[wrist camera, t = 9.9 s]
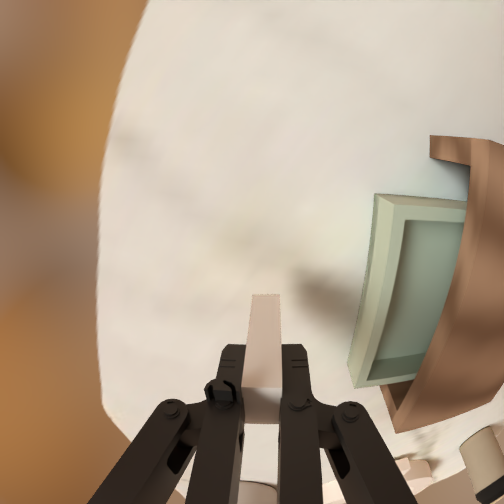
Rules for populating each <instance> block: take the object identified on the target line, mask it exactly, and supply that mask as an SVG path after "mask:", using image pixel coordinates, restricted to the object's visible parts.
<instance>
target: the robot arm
mask: <svg viewBox="0 0 504 504" xmlns="http://www.w3.org/2000/svg"><path fill="white" fill-rule="evenodd" d="M204 391H205V395H206V398H207V399H206V400H204V401H202V402H199V403H194V404H187V405H185V403H184V402H182V401H180V400H177V399H167V400H165V401H163V402H161V403H160V404H159V405H158V406H157V407H156V409H155V410H154V412H153V413H152V414H151V416H150V417H149V419H148V420H147V421H146V423H145V424H144V426H143V427H142V429H141V430H140V431H139V433H138V434H137V436H136V437H135V438H134V440H133V441H132V443H131V444H130V445H129V447H128V448H127V449H126V451H125V452H124V454H123V455H122V456H121V458H120V459H119V461H118V462H117V463H116V465H115V466H114V468H113V469H112V470H111V472H110V473H109V475H108V476H107V477H106V479H105V480H104V481H103V483H102V484H101V485H100V487H99V488H98V489H97V491H96V492H95V494H94V495H93V497H92V498H91V499H90V500H89V502H88V503H87V504H166V502H167V501H168V499H169V497H170V496H171V494H172V492H173V491H174V489H175V487H176V485H177V484H178V482H179V480H180V478H181V477H182V475H183V473H184V471H185V469H186V468H187V466H188V464H189V462H190V460H191V459H192V457H193V455H194V453H195V451H196V454H195V459H194V463H193V468H192V473H191V477H190V482H189V487H188V491H187V496H186V501H185V504H237V502H238V492H239V483H240V474H241V464H242V455H243V445H244V435H245V434H244V423H250V424H279V436H278V482H277V504H323V489H322V473H321V460H320V448H324V450H325V453H326V455H327V458H328V460H329V462H330V465H331V467H332V470H333V472H334V475H335V477H336V479H337V482H338V484H339V487H340V489H341V492H342V494H343V496H344V499H345V501H346V504H418V503H417V501H416V499H415V497H414V495H413V493H412V491H411V490H410V488H409V486H408V484H407V482H406V480H405V478H404V477H403V475H402V473H401V471H400V469H399V468H398V466H397V464H396V462H395V460H394V458H393V457H392V455H391V453H390V451H389V449H388V448H387V446H386V444H385V442H384V441H383V439H382V437H381V435H380V433H379V432H378V430H377V428H376V426H375V425H374V423H373V421H372V419H371V418H370V416H369V414H368V412H367V410H366V409H365V408H364V407H363V406H362V405H361V404H359V403H357V402H352V401H349V402H344V403H342V404H339V405H338V406H337V407H336V406H331V405H326V404H323V403H321V402H319V401H318V400H316V399H315V398H314V396H313V394H312V391H311V382H310V374H309V365H308V357H307V351H306V350H305V348H304V347H303V345H302V344H281V316H280V295H252V304H251V312H250V320H249V328H248V336H247V344H246V345H238V344H228V345H227V346H226V347H225V348H224V349H223V351H222V354H221V358H220V363H219V367H218V372H217V376H216V379H214V380H211V381H210V382H209V383H207V384H206V386H205V388H204Z"/></svg>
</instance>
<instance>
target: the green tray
mask: <svg viewBox="0 0 504 504" xmlns="http://www.w3.org/2000/svg"><path fill="white" fill-rule="evenodd" d="M466 209H467V202H465V201H457V200H448V199H438V198H428V197H416V196H404V195H389V194H374V207H373V218H372V228H371V237H370V246H369V253H368V261H367V267H366V274H365V280H364V286H363V292H362V298H361V303H360V308H359V313H358V318H357V323H356V327H355V332H354V336H353V341H352V345H351V349H350V353H349V357H348V361H347V364H348V368H349V371H350V375H351V378H352V382H353V386H354V389H355V388H364V387H371V386H378V385H385V384H391V383H397V382H402V381H408V380H413V379H415V377H416V375H417V372H418V370H419V368H420V366H421V364H422V362H423V359H424V357H425V355H426V352H427V350H428V348H429V345H430V343H431V340H432V338H433V335H434V333H435V330H436V327H437V325H438V322H439V319H440V316H441V313H442V310H443V307H444V304H445V301H446V298H447V295H448V292H449V288H450V285H451V281H452V277H453V274H454V270H455V266H456V262H457V258H458V253H459V249H460V244H461V239H462V233H463V228H464V222H465V216H466Z"/></svg>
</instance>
